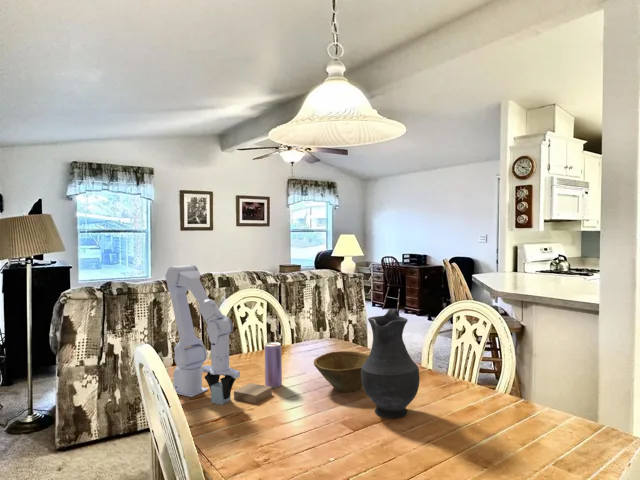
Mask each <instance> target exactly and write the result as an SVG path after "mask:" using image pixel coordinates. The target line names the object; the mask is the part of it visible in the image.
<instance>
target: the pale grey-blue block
mask: <svg viewBox="0 0 640 480" xmlns="http://www.w3.org/2000/svg"><path fill="white" fill-rule="evenodd" d="M231 396H232V395H231V393H230V397H229V398H227V399H224V397H223V387H222V383H221V381H219V382H218V383H216V384H213V385H211V390H210V403H211V404H217V405H220V406H222V405H224V404H226V403H228V402H230V401H231Z"/></svg>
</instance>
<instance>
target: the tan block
mask: <svg viewBox="0 0 640 480" xmlns="http://www.w3.org/2000/svg"><path fill="white" fill-rule="evenodd" d="M272 395H273V388H272V387H269V386H266V385H265V384H264V385H262V384H257V383H253V382H252V383H248V384H246V385H244V386H242V387H239V388H238V389H236V390H234V391H233V399H234V400H237V401H240V402H241V401H242V402H246V403H251V404H258V403H260V402H262V401H264V400H265V399H266V398H268V397H270V396H272Z"/></svg>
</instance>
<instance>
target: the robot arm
mask: <svg viewBox="0 0 640 480" xmlns="http://www.w3.org/2000/svg"><path fill="white" fill-rule="evenodd" d="M164 276H165V280H166V285H167V290H168V292H169V295H170V300H171V303H172V309H173V310H172V311H173V314H174V320H175V324H176V329H177V332H178V333H177V334H178V338H179V341H178V342H177V343H176V345H175V346H174V348H173V349H174V363H175V364H176V367H175V368H174V371H173V376H172V377H173V380H172V381H173V388H174V387H175V390H176V392H177V394H176V395H180V396H181V395H182V396H184V397H189V398H192V397H196V396H197V395H200V394H202V393H203V392H206V391H208V390H209V389H210V391H211V385H213V384H216V383H218V382H221V383H222V387H223V397H224V399H227V398H229V397H230V393H231V392H232V389H233V386H234V384H235V381H236V379H238V378H240V377H241V371H240V370H236V369H234V368H232V367H230V334H231V333H232V332H233V329H234V328H233V326H234V325H233V322H232V320H231V318H230V317H228V316H226V315H225V314H223V313H222V311H221V310H220V308H219V306H218V305H217V303H216V301H215V300H213V299H210V297H209V296H208V294H207V292H206V290H205V288H204V286H203V284H202V281H201V280H200V279H201V278H200V277H201V273H200V271H199V269H198V267H197V266H196V265H195V264H189V265H175V266H174V265H171V266H169V267H168V268H167V271H166V273H165V275H164ZM188 291H190V292H191V294H192V296H193V297H194V298H195V299H196V301H197V302H198V303H199V306H198V311H199V312H200V315H201V316H202V318H203V320H204V321H205V323H206V325H207V327H206V333H207V335H208V340H209V342H210V357H211V358H210V360H211V361H210V362H211V364H210V365H206V364H205V363H204V362H205V361H206V360H207V357H208V352H207V349H206V347H205V345H204V342H203V340H202V339H201V338H199V337H197V336H196V332H195V328H194V323H193V319H192V315H191V309H190V305H189V302H188V295H187V292H188ZM204 364H205V365H204ZM203 365H204V366H203ZM204 373H206V375H204V379H205V381H206V382H207V385H208V387H209V389H208V388H207V387H203V374H204ZM221 376H223V377H222V378H220V377H221Z"/></svg>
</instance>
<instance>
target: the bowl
mask: <svg viewBox="0 0 640 480" xmlns="http://www.w3.org/2000/svg"><path fill="white" fill-rule="evenodd" d="M369 355H370V354H368V353H363V352H359V351H353V350H352V351H350V350H349V351H347V350H346V351H345V350H339V351H330V352H326V353H323V354H321V355H319V356H317V357H316V358H315V359H314V361H313V365H314V367H315V369H317V371H318V372H319V373H320V374H321V376H322V377H323V378H324V379H325V380H326V381H327V382H328V383H329V384H330V385H331V386H332V387H333V389H335V390H336V391H338V392H342V393H352V392H357V391H358V390H360V388H361V387H363V385H362V380H361V367H362V365H363V364H364V363H365V362H366V360H367V359H368V357H369Z"/></svg>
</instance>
